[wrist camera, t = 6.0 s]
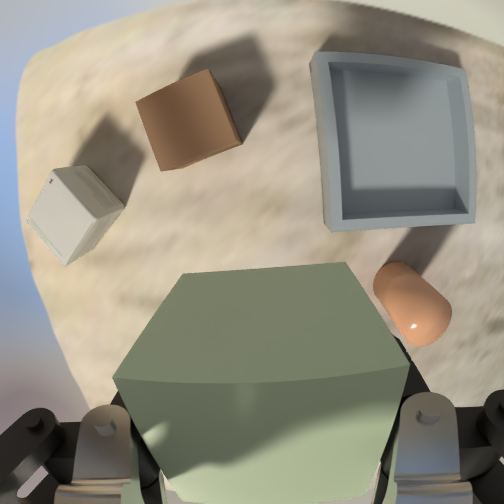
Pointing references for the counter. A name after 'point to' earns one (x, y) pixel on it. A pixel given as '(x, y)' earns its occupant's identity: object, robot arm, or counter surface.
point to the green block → (265, 385)
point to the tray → (393, 141)
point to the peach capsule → (412, 303)
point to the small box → (73, 212)
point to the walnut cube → (188, 121)
